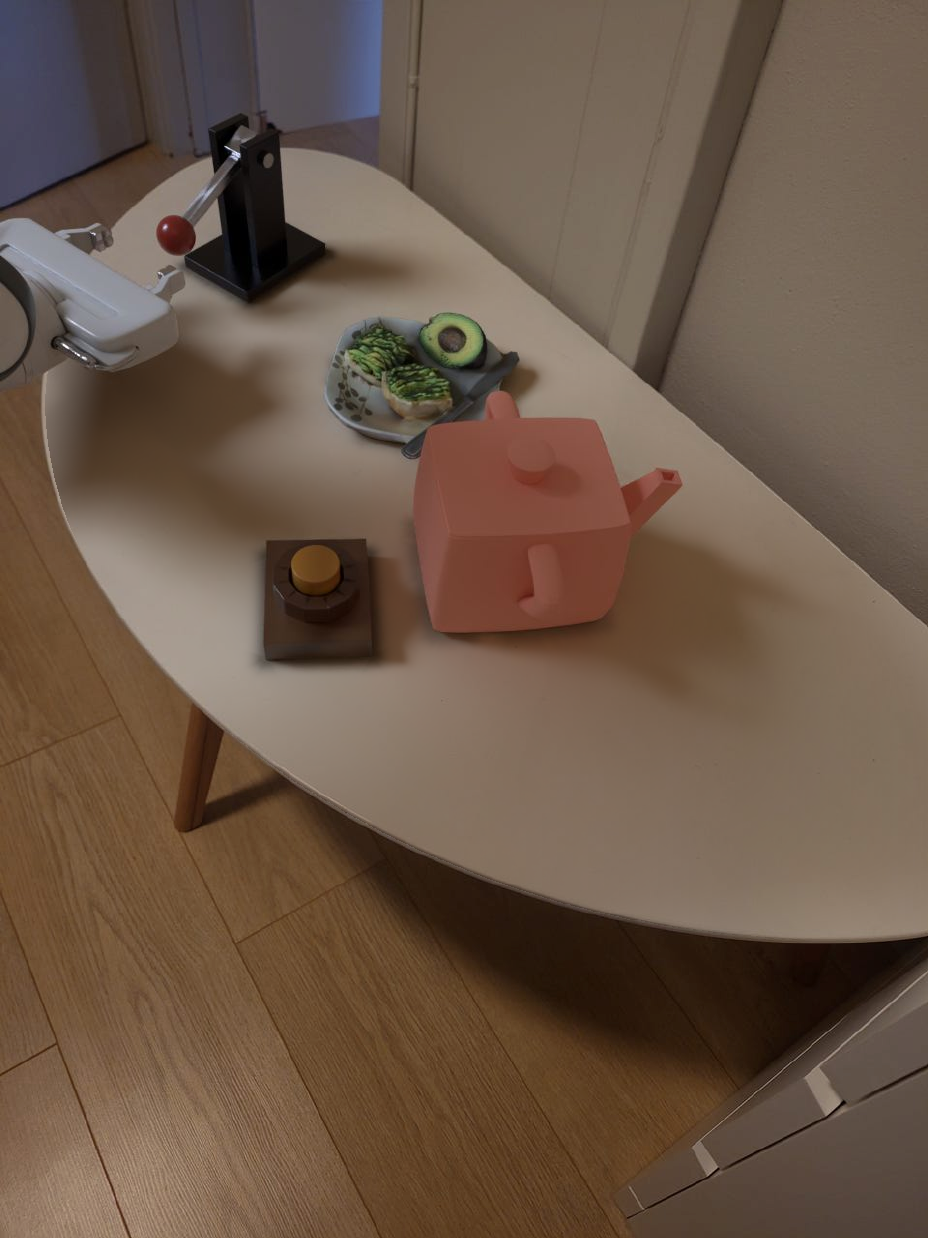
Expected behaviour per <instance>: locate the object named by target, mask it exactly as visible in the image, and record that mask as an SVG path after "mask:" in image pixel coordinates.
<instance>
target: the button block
mask: <svg viewBox="0 0 928 1238" xmlns="http://www.w3.org/2000/svg"><path fill="white" fill-rule="evenodd" d="M367 543H368V542H367V538H324V539H323V538H321V539H268V540H266V541H265V563H264V564H265V565H264V567H265V568H264V598H263V599H264V601H263V602H264V604H263V605H264V606H263V636H262V645H263V651H264V658H265V660H266V661H269V660H272V661H273V660H298V659H299V660H300V659H301V660H302V659H328V658H357V657H372V649H373V639H372V637H373V636H372V620H371V619H372V616H371V601H370V583H369V582H370V581H369V580H370V579H369V563H368V545H367ZM311 545H321V546H325V547H328V548H330V549H331V550H333V551H334V552H335V553H336V554H337V556H338V558H339V560H340V581H339V584H338V585H337V587H336V588H335V589H334V590H333V591H331V592H330V593H328V594H325V595H321V596H311V595H307V594H304V593H302V592H301V591H299V590H298V589H297V588H296V586H295V585H294V583H293V578H292V568H291V562H292V559H293V557H294V555H295V554H296V553H297V552H298V551H299V550H300V549H302V548H304V547H307V546H311Z"/></svg>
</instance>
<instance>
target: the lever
mask: <svg viewBox="0 0 928 1238" xmlns="http://www.w3.org/2000/svg"><path fill="white" fill-rule="evenodd" d="M258 135H259V133H258V132H256V131H255V130H252V129H251V128H249V129H248V128H246V127H244V126H242V125H241V126H240V127H239V128H238V129H237V131H236V132H235V133H234V134H233V136H232V137H231V138H230V139H229V141H228V142H227V143H226V144H225V146H224V147H225V149H226V151H227V153H228V155H229V157H228V158H227V160H226V161H225V162H224V163H223V165H222V166H221V167H220V168H219V169H218V171H217V172H216V173H215V174H214V173H213V175H212V177H211V178H210V179H209V181H208V182H207V183H206V185H205V186H203V188H202V189H201V190H200V192H199V193H198V194H197V195H196V197H195V198H194V199H193V201H192V202H191V203H190V204H189V205H188V207H187V208H186V209H185V210H184V212H183V213H182V214H181V215H177V214H169V215H166V216H164V217H163V218H162V219H160V221H159V222H158V224H157V227H156V231H155V234H156V240H157V243H158V244H159V246H160V247H161V249H162V250H163V251H164V252H166V253H167V254H168V255H170V256H174V257H184V256H185V255H186V254H188V253H190V252H192V251H193V249H194V248H195V245H196V242H197V235H196V230H195V226H196V225H197V224H198V223H199V221H200V220H201V219H202V218H203V217H204V215H205V214H206V213H207V211H209V210H210V208H211V207H212V205H213V204H214V203H215V201H217V198H218V196H219V195H220V194H221V193H222V191H223V190H224V189H225V188H226V186H227V185H228V184H229V183H230V181H231V180H232V179H233V178H234V176H235V175H236V174H237V173H238V171H239V170H240V169H241V168H242V166H241V157H240V148H239V145H240V144H242V143H244V142H246V141H248V140H250V139H252V138H254V137H256V136H258Z"/></svg>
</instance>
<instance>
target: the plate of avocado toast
mask: <svg viewBox="0 0 928 1238" xmlns="http://www.w3.org/2000/svg"><path fill="white" fill-rule="evenodd" d="M520 360H521V359H520V357H519V355H518V352H517V351H509V352H507V353H503V352H501V351H500V350H499V349H498V347H496V344H494V343H493V342H492V341H491V340H489V339H488V338H487V336H486V333H485V331H484V330H483V328H482V326H480V324H479V323H478V322H477V321H475V320H474V319H472V317H469V316H466V315H464V314H461V313H457V312H439V313H438V314H436V315H435V316H430V317H429V318H428V323H425V322H421V321H417V320H410V319H405V318H400V317H392V316H376V317H375V316H374V317H368V318H365V319H363V320H361V321H359V322H356V323H355V324H352V325H350V326H349V327H348V328H346V329H345V330H344V331H343V333H342V334H341V336H340V337H339V339H338V341H337V344H336V346H335V350H334V352H333V356H332V360H331V364H330V366H329V371H328V373H327V375H326V380H325V385H324V386H325V387H324V393H323V398H324V401H325V403H326V405H327V407H328V410H329V412H331V414H332V415H333V416H334V417H335V418H336V419H337V420H338V421H339V422H340V423H341V424H342V425H344V426H345V427H347V428H349V429H351V430H354V431H357V432H359V433H361V434H363V435H365V436H367V437H368V438H371V439H375V440H378V441H384V442H392V443H393V442H394V443H402V444H404V445H403V446H402V447H401V449H400V451H401V455H402V456H403V457H404V458H406V459H407V460H417V459H420V455H421V451H422V447H423V443H424V439H425V436H426V432H427V429H428V428H429V427H431V426H433V425H437V424H443V423H451V422H462V421H475V420H485V405H486V400H487V398H488V396H489V394H490V393H492V392H494V391H500V389H501V387H500V386H501V383H502V382H503V380H504V379H506V378H507V377H508V376H509V375H510V374H511V373H512V372H513V371H514V370H515V368H516V367H517V366H518V364H519V363H520Z"/></svg>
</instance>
